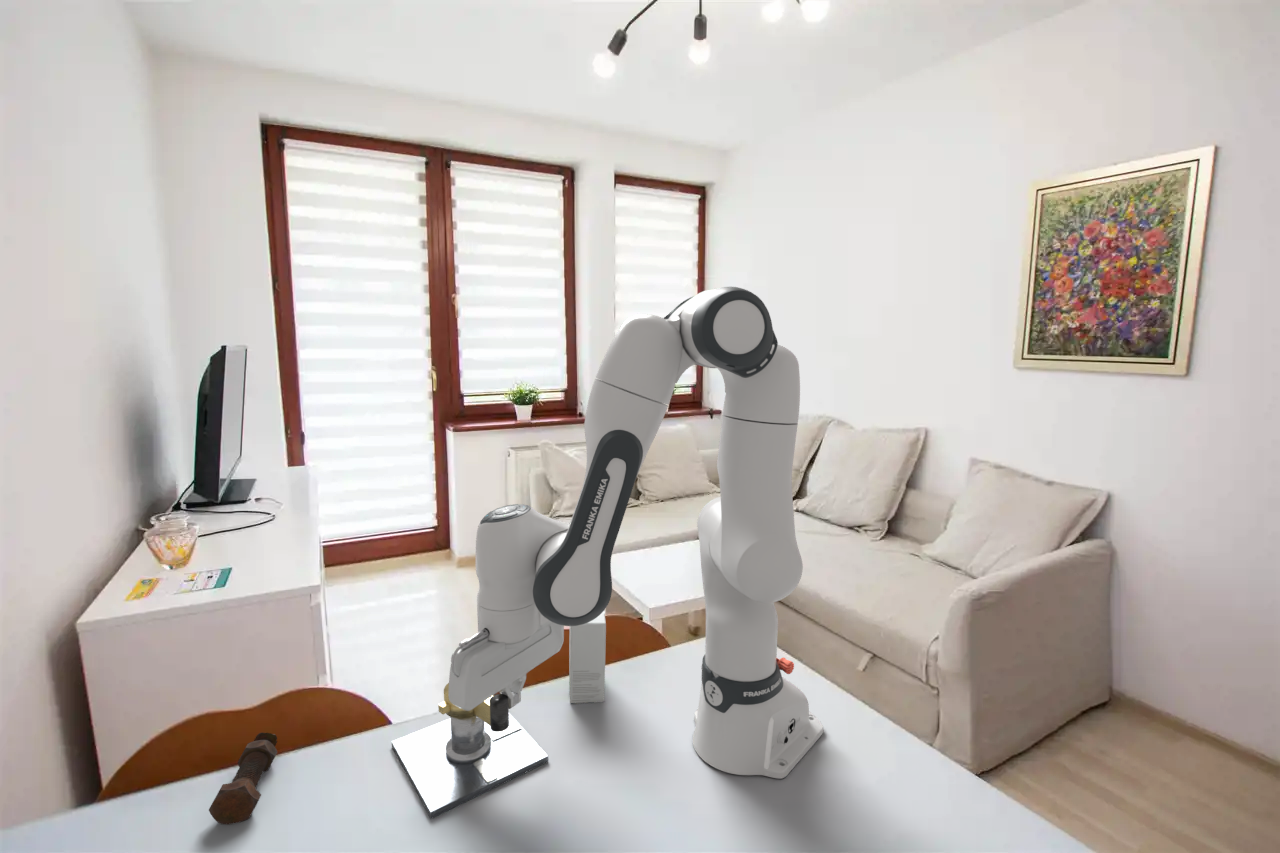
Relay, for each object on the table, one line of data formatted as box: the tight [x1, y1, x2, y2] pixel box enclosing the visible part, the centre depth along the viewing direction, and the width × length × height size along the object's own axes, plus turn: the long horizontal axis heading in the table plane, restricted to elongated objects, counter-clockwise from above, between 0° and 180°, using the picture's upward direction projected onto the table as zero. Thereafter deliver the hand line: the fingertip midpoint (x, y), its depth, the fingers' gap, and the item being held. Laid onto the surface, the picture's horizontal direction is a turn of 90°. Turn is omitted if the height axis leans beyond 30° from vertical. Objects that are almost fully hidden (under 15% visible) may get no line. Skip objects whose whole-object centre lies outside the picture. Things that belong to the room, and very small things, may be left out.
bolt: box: [208, 732, 278, 826], centre depth 87 cm, size 6×5×15 cm
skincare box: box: [568, 609, 607, 704], centre depth 109 cm, size 8×7×16 cm
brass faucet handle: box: [438, 682, 510, 732], centre depth 90 cm, size 13×9×5 cm
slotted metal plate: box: [391, 712, 549, 819], centre depth 93 cm, size 18×18×8 cm
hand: (511, 704), depth 89 cm, fingers closed
